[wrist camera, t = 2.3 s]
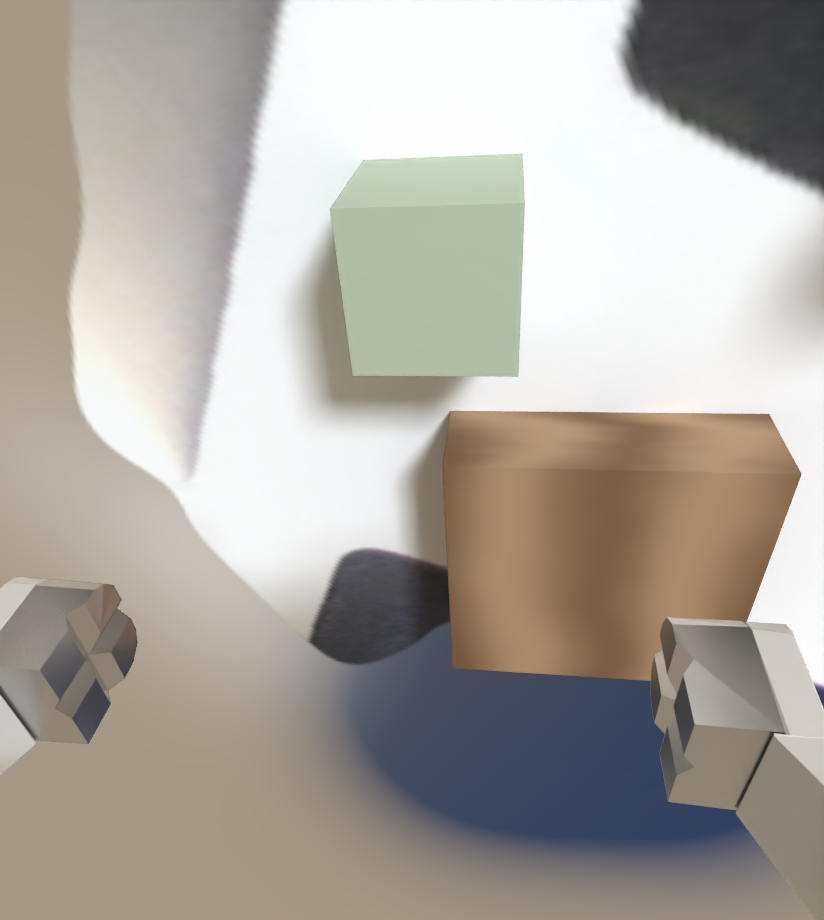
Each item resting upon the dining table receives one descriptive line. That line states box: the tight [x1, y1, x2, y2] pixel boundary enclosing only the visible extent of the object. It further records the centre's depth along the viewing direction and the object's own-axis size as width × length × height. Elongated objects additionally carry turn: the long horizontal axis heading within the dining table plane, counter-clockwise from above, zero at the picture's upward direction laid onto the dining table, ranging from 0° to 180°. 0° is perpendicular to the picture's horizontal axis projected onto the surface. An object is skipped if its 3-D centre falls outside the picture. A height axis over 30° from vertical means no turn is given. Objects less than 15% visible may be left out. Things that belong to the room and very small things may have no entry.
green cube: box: [330, 154, 525, 377], centre depth 20 cm, size 5×5×5 cm
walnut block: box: [443, 411, 801, 681], centre depth 28 cm, size 12×12×4 cm
